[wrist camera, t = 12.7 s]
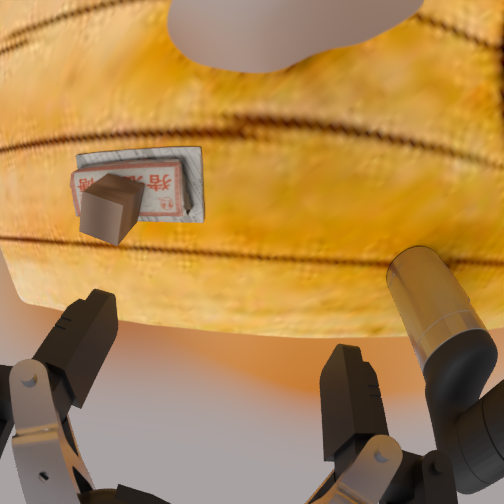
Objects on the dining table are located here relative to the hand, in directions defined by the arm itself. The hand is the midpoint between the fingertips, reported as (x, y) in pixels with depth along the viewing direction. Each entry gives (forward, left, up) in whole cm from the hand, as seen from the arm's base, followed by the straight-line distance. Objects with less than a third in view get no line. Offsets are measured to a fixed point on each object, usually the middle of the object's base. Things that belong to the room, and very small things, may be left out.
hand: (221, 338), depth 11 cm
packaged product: (+14, +8, -30) cm, 34 cm away
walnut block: (+15, +8, -25) cm, 30 cm away
